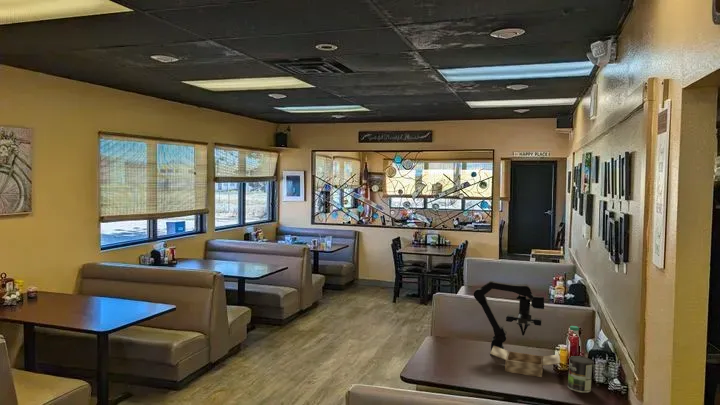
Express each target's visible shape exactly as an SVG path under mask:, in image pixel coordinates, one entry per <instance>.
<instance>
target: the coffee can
mask: <svg viewBox="0 0 720 405" xmlns="http://www.w3.org/2000/svg"><path fill="white" fill-rule="evenodd" d="M593 362H594V361H593V359H591V358H588V357H585V356H571V357H569V364H568V365H569V366H568V376H567V378H568V379H567V388H568V389H569V390H570V391H573V392H577V393H582V394H583V393H585V394H586V393H590V392H591V391H592V388H591V387H592V373H593V372H592V371H593V364H594V363H593Z"/></svg>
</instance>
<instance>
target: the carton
mask: <svg viewBox="0 0 720 405" xmlns="http://www.w3.org/2000/svg"><path fill="white" fill-rule="evenodd" d="M507 351H508V353H507V356H506V360H505V363H504V372H507V373H513V374H518V375H519V374H521V375H525V376H532V377H539V378H543V371H544V370H543V369H544V368H543V366H544V365H543V356H544V355H537V354H529V353H523V352H516V351H509V350H507Z"/></svg>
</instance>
